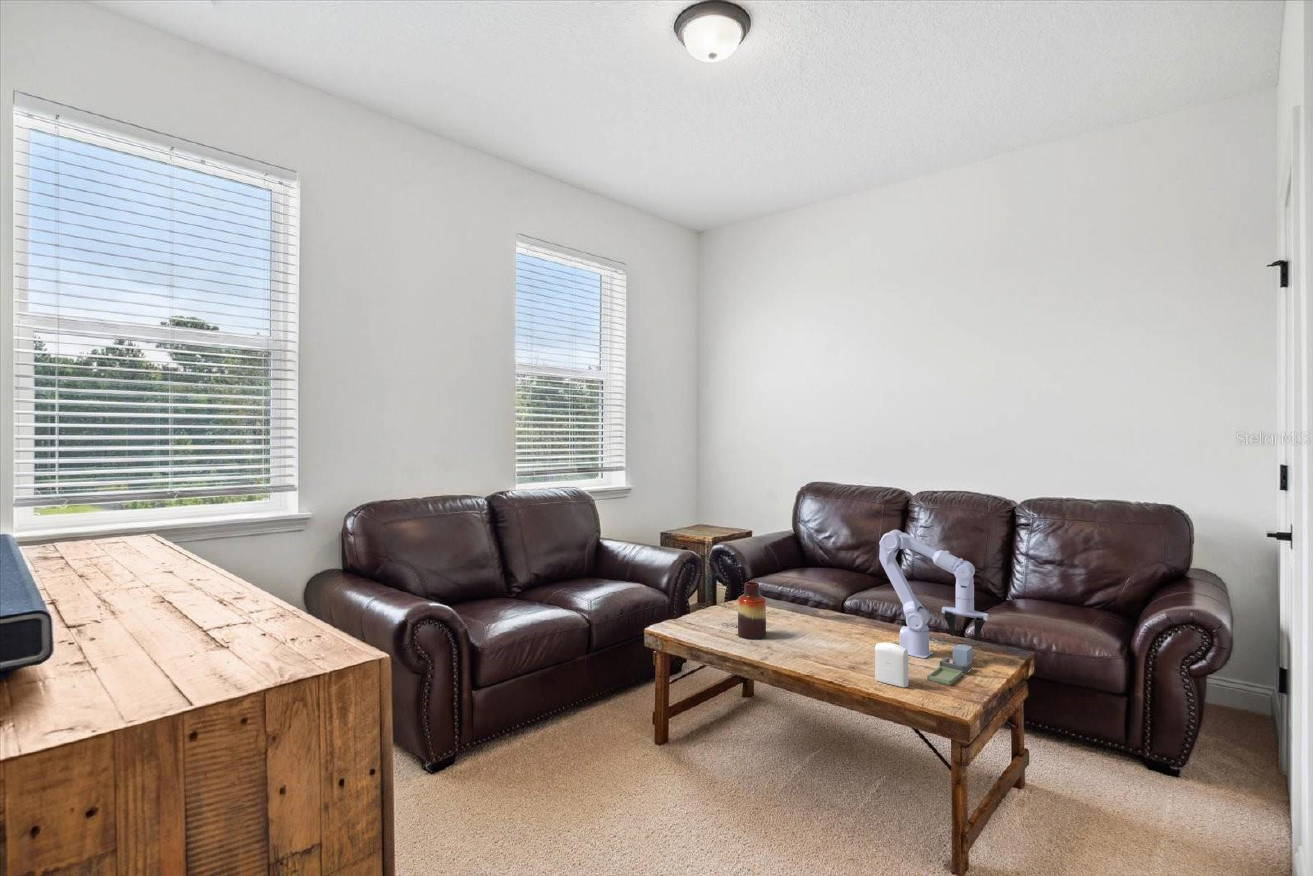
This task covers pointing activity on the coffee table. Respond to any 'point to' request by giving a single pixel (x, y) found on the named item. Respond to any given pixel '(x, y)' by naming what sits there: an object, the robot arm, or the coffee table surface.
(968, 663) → the bay
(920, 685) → the coffee table surface
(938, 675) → the tray
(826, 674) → the coffee table surface
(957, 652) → the stepped two-tone block
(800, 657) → the coffee table surface
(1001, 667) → the coffee table surface
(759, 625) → the vase
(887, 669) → the photo printer
